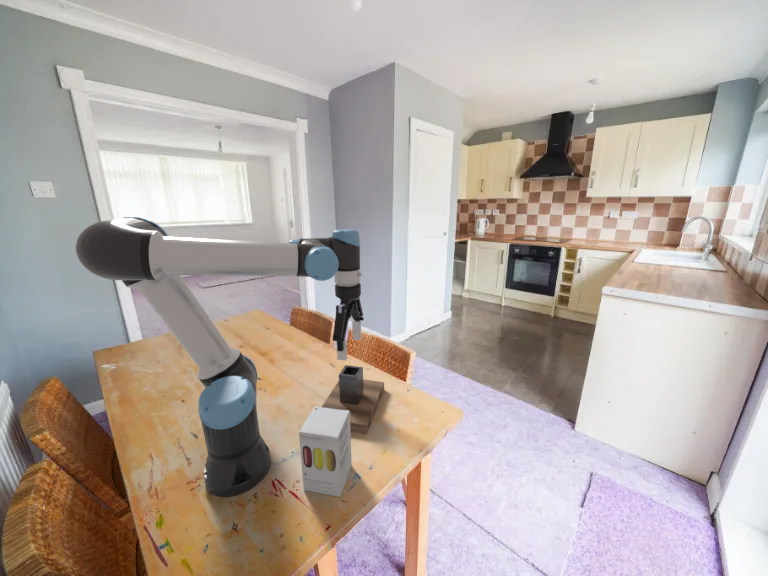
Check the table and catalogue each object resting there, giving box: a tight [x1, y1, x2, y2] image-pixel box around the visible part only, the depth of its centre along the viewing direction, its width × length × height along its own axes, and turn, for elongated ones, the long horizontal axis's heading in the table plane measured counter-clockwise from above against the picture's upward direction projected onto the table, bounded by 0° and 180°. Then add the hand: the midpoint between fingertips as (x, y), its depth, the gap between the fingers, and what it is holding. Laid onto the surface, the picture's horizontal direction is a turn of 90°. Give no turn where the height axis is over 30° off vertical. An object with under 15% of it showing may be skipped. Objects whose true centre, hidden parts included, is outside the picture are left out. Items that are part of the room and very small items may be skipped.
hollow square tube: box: [338, 364, 364, 405], centre depth 99 cm, size 6×6×10 cm
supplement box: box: [298, 405, 353, 498], centre depth 73 cm, size 10×9×17 cm
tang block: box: [321, 379, 385, 435], centre depth 100 cm, size 22×16×10 cm
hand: (350, 348), depth 96 cm, fingers open, 13 cm apart
